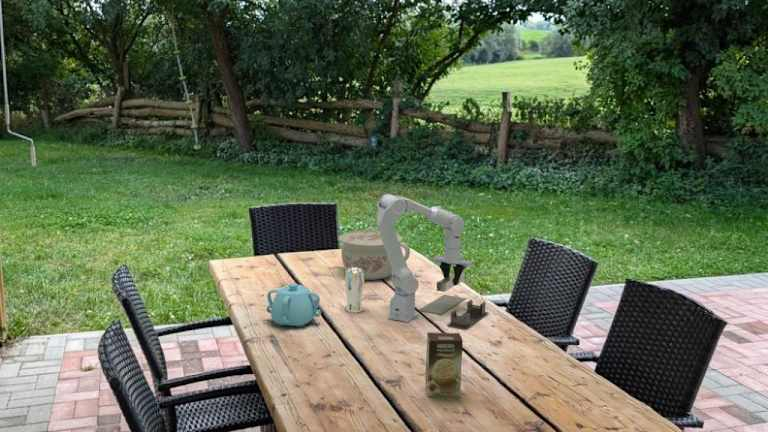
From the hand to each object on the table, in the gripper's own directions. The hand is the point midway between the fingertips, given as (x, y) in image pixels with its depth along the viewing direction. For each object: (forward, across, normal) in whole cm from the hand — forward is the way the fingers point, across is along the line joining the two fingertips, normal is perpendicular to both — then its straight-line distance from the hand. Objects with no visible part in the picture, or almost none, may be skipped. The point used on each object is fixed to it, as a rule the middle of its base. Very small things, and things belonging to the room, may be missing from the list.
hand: (451, 283), depth 275 cm
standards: (+10, -10, +7) cm, 16 cm away
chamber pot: (+10, +48, -24) cm, 55 cm away
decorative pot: (+10, +41, +40) cm, 58 cm away
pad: (+10, +5, -4) cm, 12 cm away
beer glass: (+10, +30, +18) cm, 37 cm away
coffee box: (+10, -28, +66) cm, 72 cm away
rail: (0, 0, 0) cm, 0 cm away
